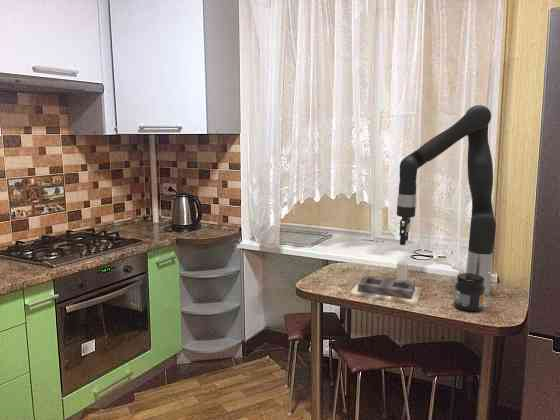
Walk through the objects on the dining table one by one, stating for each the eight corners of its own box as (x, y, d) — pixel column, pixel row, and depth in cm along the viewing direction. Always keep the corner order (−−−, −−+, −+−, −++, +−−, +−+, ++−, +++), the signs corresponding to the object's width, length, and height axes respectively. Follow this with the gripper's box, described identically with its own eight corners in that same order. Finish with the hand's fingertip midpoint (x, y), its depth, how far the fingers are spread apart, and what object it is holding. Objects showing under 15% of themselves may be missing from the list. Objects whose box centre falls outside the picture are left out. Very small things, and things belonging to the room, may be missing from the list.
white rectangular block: (406, 282, 208) (408, 262, 206) (405, 285, 204) (406, 265, 202) (397, 281, 209) (398, 261, 208) (395, 284, 206) (397, 264, 204)
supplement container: (487, 307, 182) (490, 276, 180) (477, 315, 174) (480, 283, 172) (459, 299, 189) (462, 270, 186) (448, 307, 181) (451, 276, 179)
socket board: (421, 290, 199) (422, 280, 198) (417, 305, 182) (417, 295, 182) (359, 281, 208) (360, 272, 208) (349, 295, 192) (350, 285, 191)
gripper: (413, 208, 192) (411, 247, 195) (417, 202, 205) (415, 239, 208) (394, 206, 195) (392, 245, 198) (399, 201, 208) (397, 237, 211)
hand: (403, 242), depth 203 cm, fingers open, 8 cm apart
